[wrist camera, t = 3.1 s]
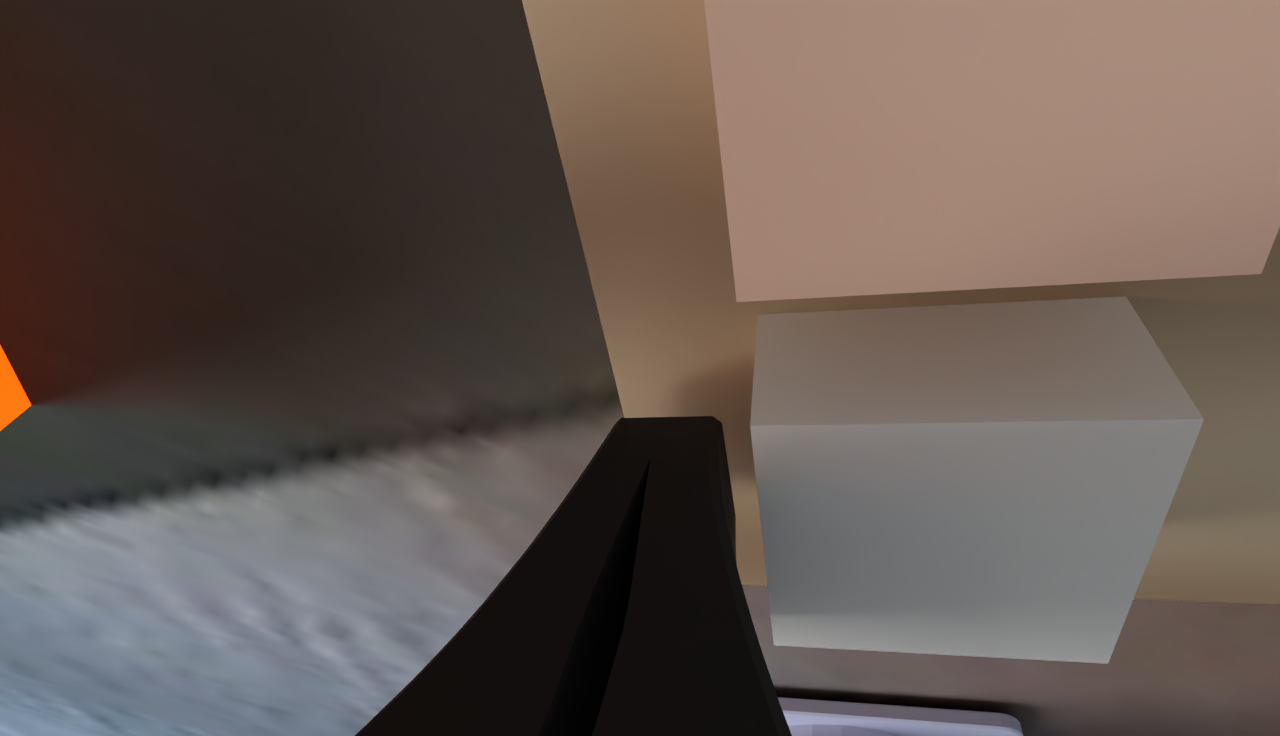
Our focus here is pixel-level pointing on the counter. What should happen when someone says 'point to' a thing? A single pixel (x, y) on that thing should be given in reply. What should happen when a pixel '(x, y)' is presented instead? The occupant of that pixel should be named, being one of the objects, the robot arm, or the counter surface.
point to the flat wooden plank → (726, 329)
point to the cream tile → (963, 475)
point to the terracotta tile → (994, 142)
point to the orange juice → (10, 393)
